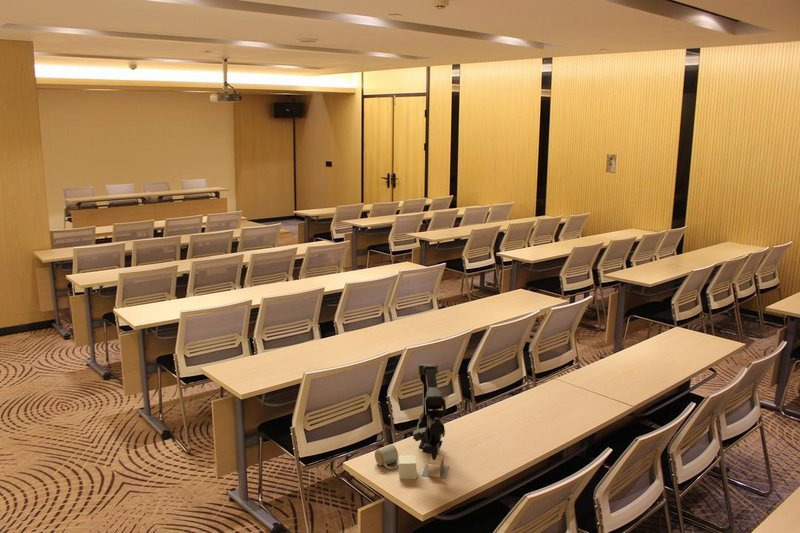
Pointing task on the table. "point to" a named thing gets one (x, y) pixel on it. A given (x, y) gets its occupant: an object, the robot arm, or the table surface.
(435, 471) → the walnut block
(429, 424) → the robot arm
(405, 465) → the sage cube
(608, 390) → the table surface
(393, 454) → the ceramic mug
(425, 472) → the felt pad
